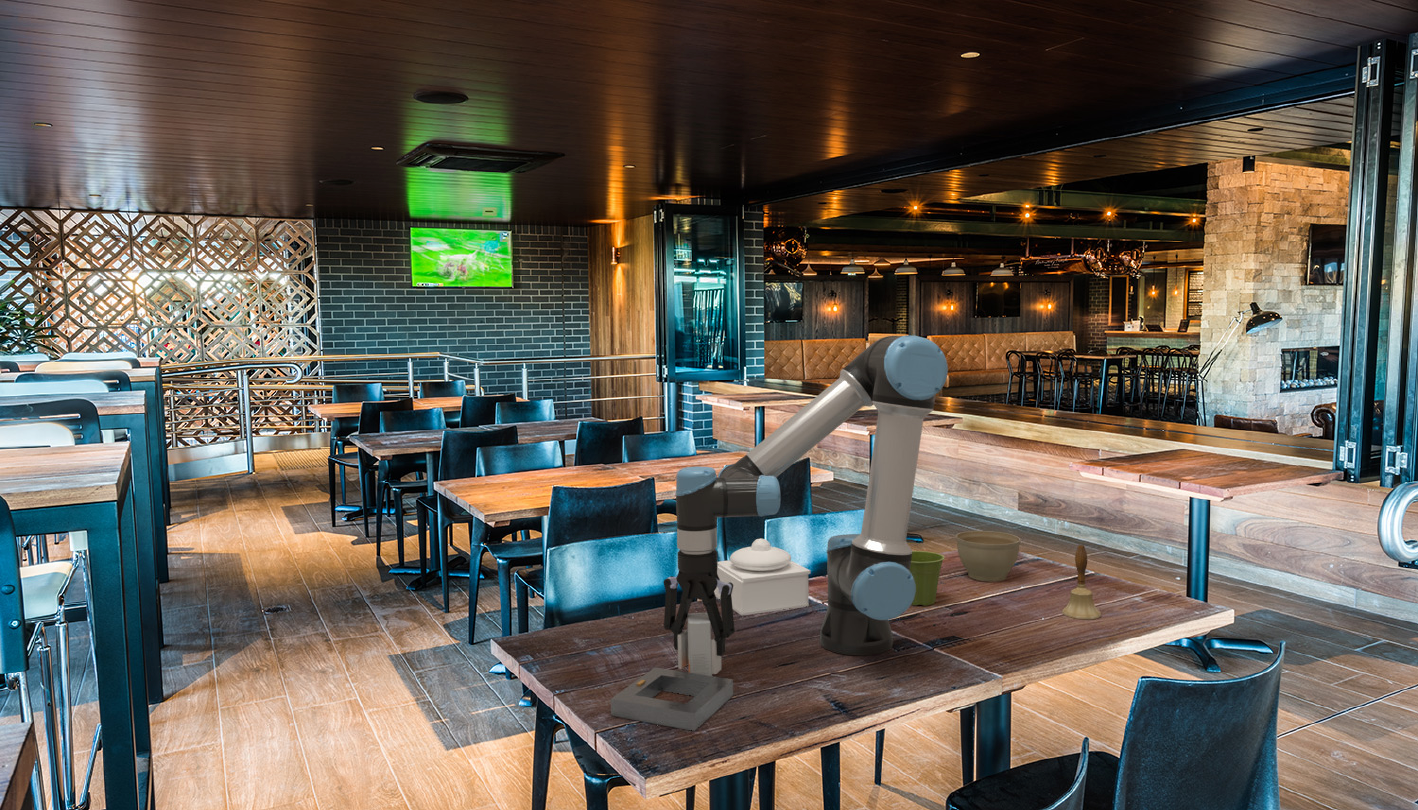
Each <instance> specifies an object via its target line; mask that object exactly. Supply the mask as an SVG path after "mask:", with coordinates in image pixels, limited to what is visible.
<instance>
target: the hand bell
mask: <svg viewBox="0 0 1418 810" xmlns="http://www.w3.org/2000/svg"><path fill="white" fill-rule="evenodd" d="M1087 554H1088V553H1087V551H1086V547H1085V545H1084V544H1078V545H1077V549H1076V552H1075V555H1074V557H1075V558H1074V563H1075V568H1076V570H1077V578H1076V579H1077V581H1076V582H1077V585H1076V587H1075V588H1073V589H1071V591H1070V597H1069V601H1068V604H1067V605H1066V606H1065V607H1064V608H1063V609H1062V611H1061V613H1062V615H1063V616H1066V617H1068V618H1071V619H1076V620H1083V621H1084V620H1097V619H1099V618H1101V617H1102V613H1101V611H1100V610H1099V609H1098V608H1097V607H1096V605H1095V602H1094V598H1093V592H1092V591H1091V590H1090V589H1088V588H1087V587H1086V570H1087V567H1088V555H1087Z"/></svg>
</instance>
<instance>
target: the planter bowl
mask: <svg viewBox="0 0 1418 810" xmlns="http://www.w3.org/2000/svg"><path fill="white" fill-rule="evenodd" d="M955 539H956V547H957V553H958V556H959V559H960V561H961V564H962V565H963V567H964V568H965V570H966V571H967V574H968V577H969V578H971V579H973V580H976V581H980V582H989V583H991V582H992V583H993V582H1002V581H1004V580H1006V579H1007V577H1008V574H1009V572H1011V570H1012V569H1013V567H1014V565H1016V562H1017V559H1018V556H1019V551H1020V545H1021V538H1020V537H1019V536H1017V535H1014V534H1011V533H1007V532H1002V531H1001V532H1000V531H989V530H969V531H968V530H967V531H963V532H959V533H957V534H956V535H955Z"/></svg>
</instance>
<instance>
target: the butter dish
mask: <svg viewBox="0 0 1418 810" xmlns="http://www.w3.org/2000/svg"><path fill="white" fill-rule="evenodd" d="M717 562H718V569H717V574H718V577H719V579H720V581H722V582H725V583H729V582H731V583H732V584H733V590H732V594H731V597H732V607H733V611H734V612H736V613H737V614H739V615H740V616H748V615H755V614H763V613H764V614H765V613H770V612H779V611H783V609H786V610H790V609H789V608H793V609H798V608H807V607H809V606H810V604H809V602H810V601H809V575H811V574H812V573H811V571H812V570H811V569H808V568H806V567H804V566H803V565H800V564H798V563H796V562H794V561H792V556H791V554H790V553H789V552H788V551H786V550H784V549H781V548H779V547H777V546H776V547H775V546H771V543H770V542H769V540H767V539H764V538H757V539H755V540H753V542H752V543H751V546H747V547H742V548H740V549H737V550H736V551H733V552H732V553H731V554H730V557H729V559H728V560H720V561H717ZM714 593H715V596H716V599H718V600H719V599H720V596H721V594H720V593H719V588H718V587H717V588H716V589H715V591H714ZM806 606H807V607H806Z"/></svg>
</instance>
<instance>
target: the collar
mask: <svg viewBox="0 0 1418 810" xmlns="http://www.w3.org/2000/svg"><path fill="white" fill-rule="evenodd" d="M659 692H660V693H661V692H665V693H671V692H673V693H672V694H677V693H679V694H678V695H683V694H685V696H689V695H691V696H690V697H692V698H691V699H690V700H688V702H687V703H682V702H677V701H671V700H665V699H659V698H655V697H656V696H657V695H659V694H660V693H659ZM658 693H659V694H658ZM733 696H734V679H732V678H725V677H718V676H713V675H712V676H707V675H701V674H694V673H689V671H688V672H686V671H681V670H674V669H668V668H663V667H662V668H661V667H653V668H652V669H651V670H649V671H648V672H646V673H645V674H643V675H641V676H640V677H639V678H637V679H636V680H635V681H633V682H632V683H631V684H629V685H628V686H627V687H625V688H624V689H622V690H621V691H619V692H618V693H617V694H615V695H614V696H613V697H612V698H610V716H611V717H615V718H621V719H626V720H627V719H628V720H633V721H638V722H642V723H650V724H654V725H659V726H665V727H671V728H675V729H676V728H677V729H682V730H687V731H691V730H692V731H691V732H695V731H697V730H698V729H699V728H700V727H701V726H702V725H704V723H705V722H706V721H707V720H709V719H710V718H711V717H712V716H713V715H714V714H715V713H716V712H717V711H719V709H720V708H721V707H722V706H723V705H724V704H726V703H727V702H728V701H729V700H730V699H732V697H733ZM698 727H699V728H698Z"/></svg>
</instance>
